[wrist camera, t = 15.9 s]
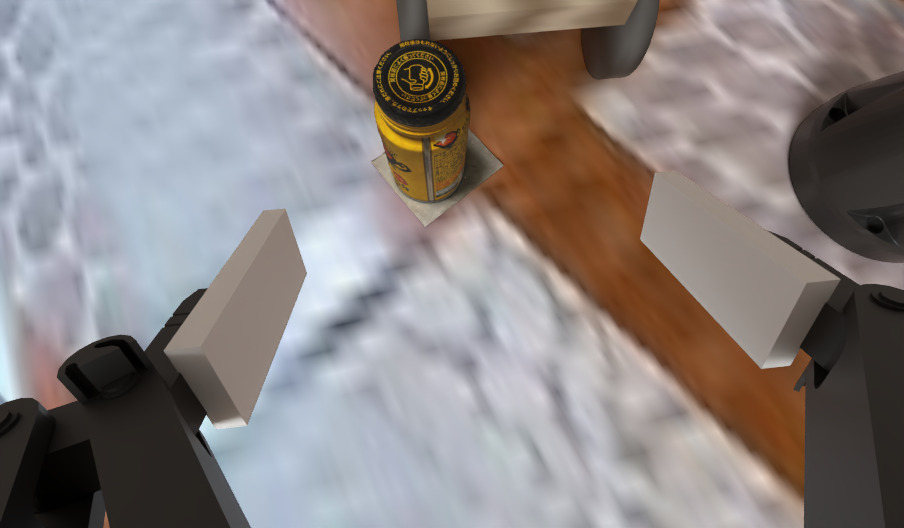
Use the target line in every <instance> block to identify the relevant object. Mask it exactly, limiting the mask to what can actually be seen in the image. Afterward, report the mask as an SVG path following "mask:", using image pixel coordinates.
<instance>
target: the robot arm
mask: <svg viewBox="0 0 904 528" xmlns="http://www.w3.org/2000/svg"><path fill="white" fill-rule="evenodd" d="M790 173H791V179H792V182H793V186H794V189H795V192H796V194H797V196H798V198H799V200H800V202H801V204H802V206H803V208H804V209H805V211H806V212H807V214H808V215H809V216H810V218H811V219H812V220H813V221H814V223H815V224H816V225H817V226H818V227H819V228H820V229H821V230H822V231H823V232H824V233H825V234H826V235H828V236H829V237H830V238H831V239H833V240H834V241H835V242H837V243H838V244H840V245H841V246H843V247H845V248H846V249H848V250H850V251H852V252H854V253H856V254H859V255H861V256H864V257H867V258H870V259H873V260H878V261H883V262H892V263H904V71H903V72H900V73H897V74H894V75H891V76H887V77H884V78H881V79H878V80H875V81H872V82H868V83H865V84H862V85H859V86H856V87H853V88H851V89H849V90H847V91H845V92H843V93H841V94H839V95H838V96H836V97H834V98H833V99H831V100H830V101H828V102H826V103H825V104H823V105H822V106H820V107H819V108H817V109H816V110H814V111H813V112H812V113H811V114H809V115H808V116H807V117H806V118H805V120H804V121H803V122H802V123H801V125H800V126H799V128H798V130H797V131H796V134H795V136H794V138H793V141H792V145H791V150H790ZM640 240H641V241H642V242H643V243H644V244H645V245H646V246H647V247H648V248H649V249H650V250H651V251H652V253H653V254H654V255H655V256H656V257H657V258H658V259H659V260H660V261H661V262H662V263H663V264H664V265H665V266H666V267H667V269H668V270H669V271H670V272H671V273H672V274H673V275H674V276H675V277H676V278H677V279H678V280H679V281H680V282H681V284H682V285H683V286H684V287H685V288H686V289H687V290H688V291H689V292H690V293H691V294H692V295H693V296H694V297H695V298H696V300H697V301H698V302H699V303H700V304H701V305H702V306H703V307H704V308H705V309H706V310H707V311H708V312H709V313H710V315H711V316H712V317H713V318H714V319H715V320H716V321H717V322H718V323H719V324H720V325H721V326H722V327H723V328H724V329H725V331H726V332H727V333H728V334H729V335H730V336H731V337H732V338H733V339H734V340H735V341H736V342H737V343H738V344H739V346H740V347H741V348H742V349H743V350H744V351H745V352H746V353H747V354H748V355H749V356H750V357H751V358H752V359H753V360H754V362H755V363H756V364H757V365H758V366H759V367H760V368H761V369H763V368H772V367H781V366H790V365H791V363H792V362H793V360H794V358H795V356H796V355H797V353H798V351H799V350H800V348H801V349H803V350H804V351H805V352H806V353H807V354H808V355H809V356H810V357H811V358H812V359H811V361H810V362H809V364H808V366H807V367H806V369H805V370H804V372H803V374H802V375H801V377H800V378H799V380H798V382H797V383H796V385H795V387H794V389H793V390H796V391H798V392H799V391H800V389H801V387H802V386H805V385H806V399H805V485H804V528H904V290H901V289H898V288H894V287H891V286H885V285H879V284H863V285H861V286H860V285H859V284H857V283H856V282H854V281H852V280H851V279H849V278H848V277H846V276H845V275H843V274H842V273H840V272H838V271H837V270H835V269H834V268H832V267H831V266H829V265H828V264H826V263H825V262H823V261H821V260H820V259H818V258H817V259H815V256H814V255H812V254H811V253H809V252H807V251H806V250H802V248H801V247H800V246H798V245H797V244H795V243H793V242H792V241H790V240H789V239H787V238H785V237H782V236H780V235H777V234H775V233H772V232H770V231H767V230H765V229H764V228H762V227H761V226H759V225H758V224H756V223H755V222H753V221H752V220H750V219H749V218H747V217H746V216H744V215H743V214H741V213H739V212H738V211H736V210H735V209H733V208H732V207H730V206H729V205H727V204H726V203H724V202H723V201H721V200H720V199H718V198H717V197H715V196H714V195H712V194H711V193H709V192H708V191H706V190H705V189H703V188H702V187H700V186H699V185H697V184H696V183H694V182H692V181H691V180H689V179H688V178H686V177H685V176H683V175H682V174H680V173H679V172H677V171H668V172H658V173H655V176H654V180H653V185H652V189H651V193H650V198H649V202H648V207H647V211H646V216H645V220H644V225H643V229H642V234H641V238H640ZM306 274H307V272H306V269H305V266H304V263H303V260H302V257H301V254H300V251H299V248H298V245H297V242H296V239H295V236H294V233H293V230H292V227H291V224H290V221H289V218H288V215H287V212H286V209H278V210H267V211H263V212H262V213H261V215H260V216H259V217H258V219H257V220H256V222H255V223H254V224H253V226H252V227H251V229H250V230H249V231H248V233H247V234H246V236H245V237H244V239H243V240H242V241H241V243H240V244H239V246H238V247H237V248H236V250H235V251H234V253H233V254H232V255H231V257H230V258H229V260H228V261H227V262H226V264H225V265H224V267H223V268H222V269H221V271H220V272H219V274H218V275H217V276H216V278H215V279H214V281H213V282H212V283H211V285H210V286H209V288H206V289H198V290H197V291H196V292H194V293H193V294H192V295H190V296H189V297H188V298H186V299H185V300H184V301H183V302H182V303H181V304H180V306H179V307H178V308H177V309H176V311H175V312H174V313H173V317H170V319H169V320H168V321H167V323H166V324H165V328H162V329H161V330H160V332H159V333H158V334H157V336H156V337H155V338H154V339H153V341H152V342H151V343H150V345H149V346H148V347H147V349H146V350H145V351H143V350H142V348H141V347H140V345H139V344H138V343H137V341H136V340H135V339H134V338H133V337H131V336H128V335H116V336H111V337H106V338H104V339H101V340H98V341H95V342H93V343H91V344H89V345H87V346H85V347H84V348H82V349H80V350H78V351H77V352H76V353H74V354H73V355H72V356H70V357H69V358H68V359H67V360H66V361H65V362H64V363H63V364H62V366H61V367H60V368H59V370H58V374H57V378H58V379H59V380H60V381H61V382H62V384H63V385H64V386H65V387H66V388H67V389H68V390H69V391H70V392H71V393H72V394H73V395H74V396H75V398H76V399H77V400H78V401H75V402H72V403H69V404H66V405H63V406H60V407H57V408H54V409H51V410H48V411H47V410H46V409H45V408H44V407H43V406H42V405H41V404H40V403H39V402H38V401H36V400H35V399H33V398H20V399H16V400H13V401H9V402H6V403H3V404H1V405H0V528H103V525H104V518H105V511H106V513H107V517H108V521H109V526H110V528H251V527H250V525H249V523H248V521H247V519H246V517H245V515H244V513H243V511H242V509H241V508H240V506H239V504H238V502H237V500H236V498H235V496H234V494H233V492H232V490H231V488H230V486H229V484H228V482H227V480H226V478H225V476H224V474H223V472H222V470H221V468H220V467H219V465H218V463H217V461H216V459H215V457H214V455H213V453H212V451H211V449H210V447H209V445H208V443H207V441H206V439H205V437H204V436H203V434H202V433H201V431H200V430H199V428H200V426H201V424H202V422H203V420H204V418H205V416H206V415H207V416H208V418H209V419H210V421H211V422H212V424H213V425H214V427H215V428H216V429H221V428H230V427H239V426H247V425H248V422H249V419H250V417H251V414H252V412H253V409H254V407H255V404H256V402H257V399H258V397H259V394H260V391H261V389H262V386H263V384H264V381H265V379H266V376H267V374H268V371H269V369H270V366H271V363H272V361H273V358H274V356H275V353H276V351H277V348H278V346H279V343H280V340H281V338H282V335H283V333H284V330H285V328H286V325H287V323H288V320H289V318H290V315H291V312H292V310H293V307H294V305H295V302H296V300H297V297H298V295H299V292H300V289H301V287H302V284H303V282H304V279H305V277H306Z"/></svg>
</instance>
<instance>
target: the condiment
mask: <svg viewBox="0 0 904 528" xmlns="http://www.w3.org/2000/svg"><path fill="white" fill-rule="evenodd" d="M373 92H374V94H375V98H376V102H375V106H374V109H375V110H374V114H375V119H376V123H377V128H378V132H379V133H380V136H381V139H382V142H383V146H384V149H385V153H384V154H382V155H381V156H380V157H378V158H377V159H375V160H374V161H372V162H371V163H372V164H373V165H374V167H375V168H376V169H377V170H378V171H379V173H380V174H381V175H382V176H383V177H384V179H385V180H386V181H387V182H388V184H389V185H390V186H391V187H392V188H393V190H394V191H395V192H396V193H397V194H398V195H399V197H400V198H401V199H402V200H403V201H404V203H405V204H406V205H407V206H408V207H409V209H410V210H411V211H412V212H413V213H414V214H415V216H416V217H417V218H418V219H419V220H420V222H421V223H422V224H423V225H424V226H427V225H428V224H429V223H431V222H432V221H433V220H435V219H436V218H437V217H439V216H440V215H441V214H443V213H444V212H445V211H446V210H448V209H449V208H450V207H452V206H453V205H454V204H455V203H457V202H458V201H459V200H461V199H462V198H463V197H464V196H466V195H467V194H468V193H469V192H470V191H472V190H473V189H474V188H476V187H477V186H478V185H480V184H481V183H482V182H484V181H485V180H486V179H487V178H489V177H490V176H491V175H492V174H493V173H495V172H496V171H497V170H499V169H500V168H501V167H503V166H504V165H503V164H502V163H501V162H500V161H499V160H498V159H497V158H496V157H495V156H494V155H493V154H492V153H491V152H490V151H489V150H488V149H487V148H486V147H485V145H484V144H483V143H482V142H481V141H480V140H479V139H478V138H477V137H476V136H475V135H474V133H472V132H471V131H470V129H469V119H470V104H469V99H468V96H467V93H466V76H465V71H464V69H463V66H462V64H461V62H460V61H459V59H458V58H457V56H456V55H455V54H454V53H453V52H452V51H451V50H450V49H449V48H447V47H446V46H444V45H443V44H442V43H439V42H436V41H432V40H428V39H412V40H407V41H402V42H400V43H398V44H396V45H394V46H393V47H391V48H390V49H389V50H387V51H386V52H385V53H384V54H383V55H382V56H381V58H380V60H379V62H378V64H377V65H376V67H375V68H374V73H373ZM465 177H466V178H465Z"/></svg>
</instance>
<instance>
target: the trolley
mask: <svg viewBox="0 0 904 528" xmlns="http://www.w3.org/2000/svg"><path fill="white" fill-rule="evenodd" d="M396 1H397V11H398V19H399V28H400V37H401V42H402V41H407V40H412V39H428V40H432V41H434V40H446V39H458V38H470V37H482V36H494V35H506V34H518V33H530V32H542V31H554V30H566V29H578V28H582V50H583V56H584V61H585V64H586V67H587V69H588V72H589V73H590V75H591V76H592V77H593V78H595V79H609V78H621V77H626V76H628V75H630V74H631V73H632V72H633V71H634V70H636V68H637V67H638V66H639V64H640V63H641V61H642V59H643V58H644V56H645V54H646V52H647V49H648V47H649V44H650V42H651V39H652V36H653V32H654V29H655V24H656V20H657V14H658V8H659V0H396Z"/></svg>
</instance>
